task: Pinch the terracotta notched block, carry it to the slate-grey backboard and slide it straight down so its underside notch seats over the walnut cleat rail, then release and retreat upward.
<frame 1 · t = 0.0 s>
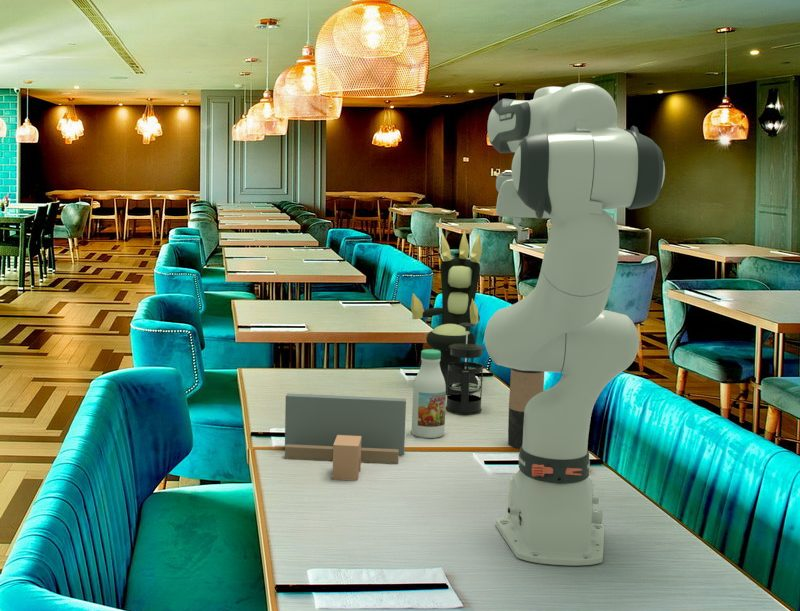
hand: (545, 241, 182), 48 cm above the table, fingers open, 8 cm apart
french press: (463, 411, 236), on the table
travel mug: (523, 445, 208), on the table
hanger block: (346, 473, 184), on the table
milk bottle: (427, 435, 214), on the table
miniature padded chair: (449, 387, 263), on the table
cleat board: (341, 459, 193), on the table
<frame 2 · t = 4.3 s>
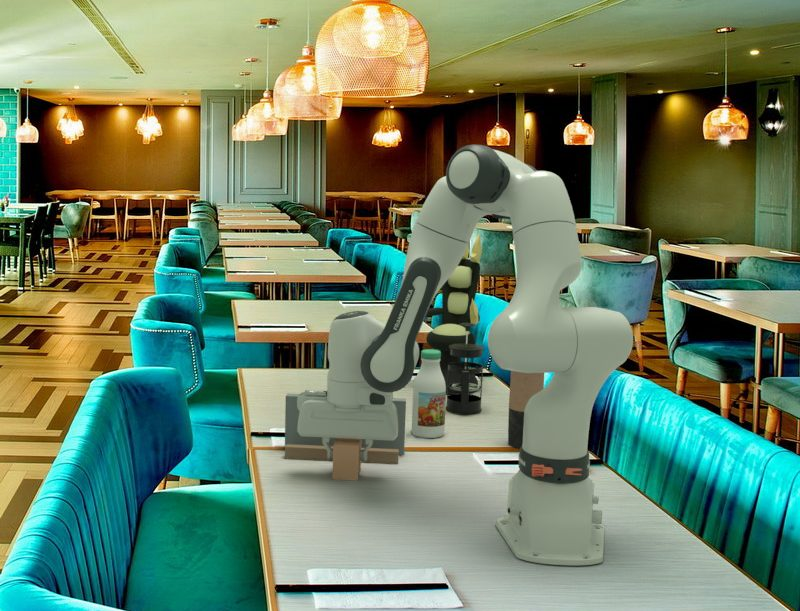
hand: (347, 458, 183), 3 cm above the table, fingers closed on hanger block, 5 cm apart
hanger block: (346, 473, 184), on the table, touching gripper
everything else where it was.
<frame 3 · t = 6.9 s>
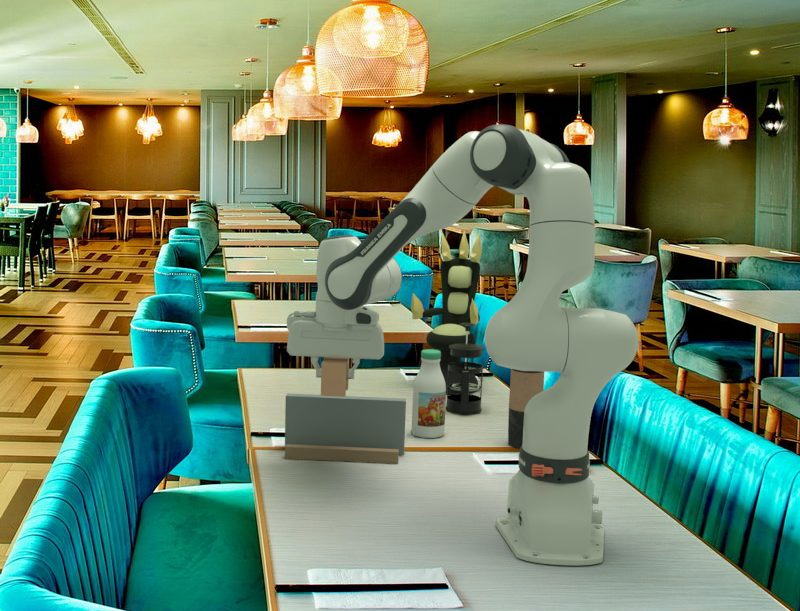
hand: (335, 377, 191), 18 cm above the table, fingers closed on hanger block, 5 cm apart
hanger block: (334, 391, 191), point 15 cm above the table, touching gripper
everything else where it was.
when the fingers open (4 cm above the table, at t = 9.2 s): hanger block drops 1 cm, resting in cleat board.
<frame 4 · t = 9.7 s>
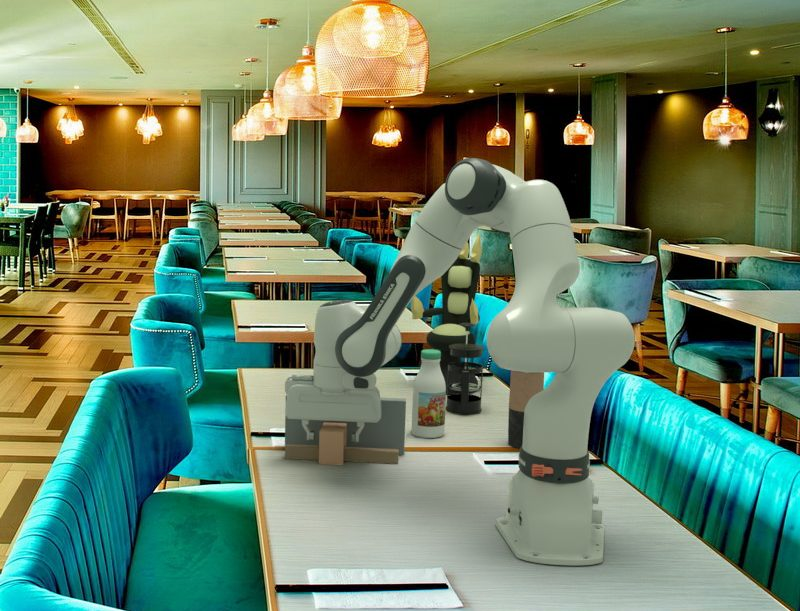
hand: (332, 440, 192), 4 cm above the table, fingers open, 8 cm apart
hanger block: (332, 459, 193), resting in cleat board
everything else where it was.
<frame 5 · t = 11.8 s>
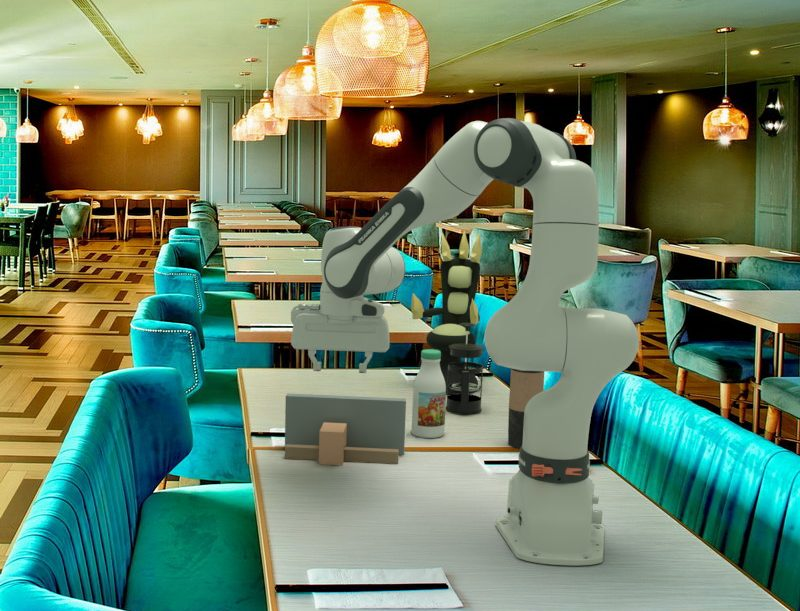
hand: (339, 371, 188), 19 cm above the table, fingers open, 8 cm apart
nothing on the table moved.
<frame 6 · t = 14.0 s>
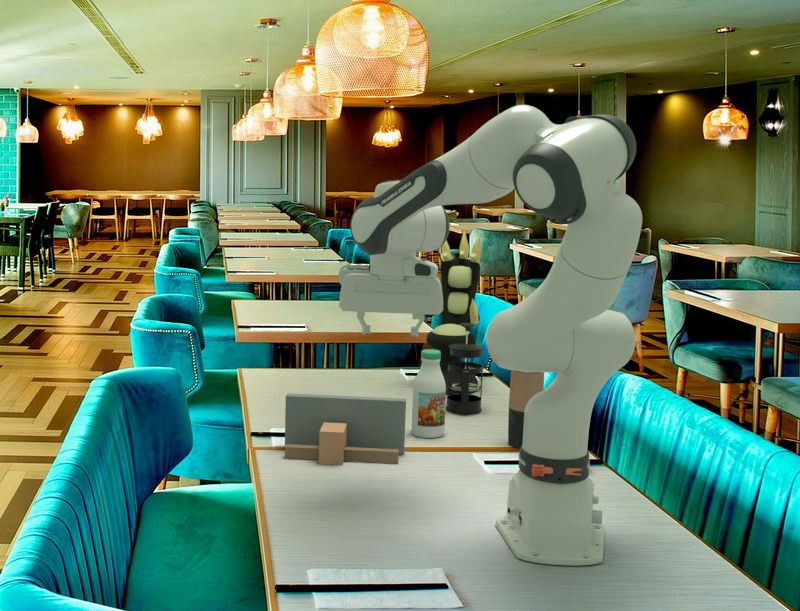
hand: (390, 335, 177), 29 cm above the table, fingers open, 8 cm apart
nothing on the table moved.
at the end: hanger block inside the target area on the cleat board (1.9 cm from its centre), point 0.0 cm above the cleat board's base; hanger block tilted 0°; the gripper is holding nothing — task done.
